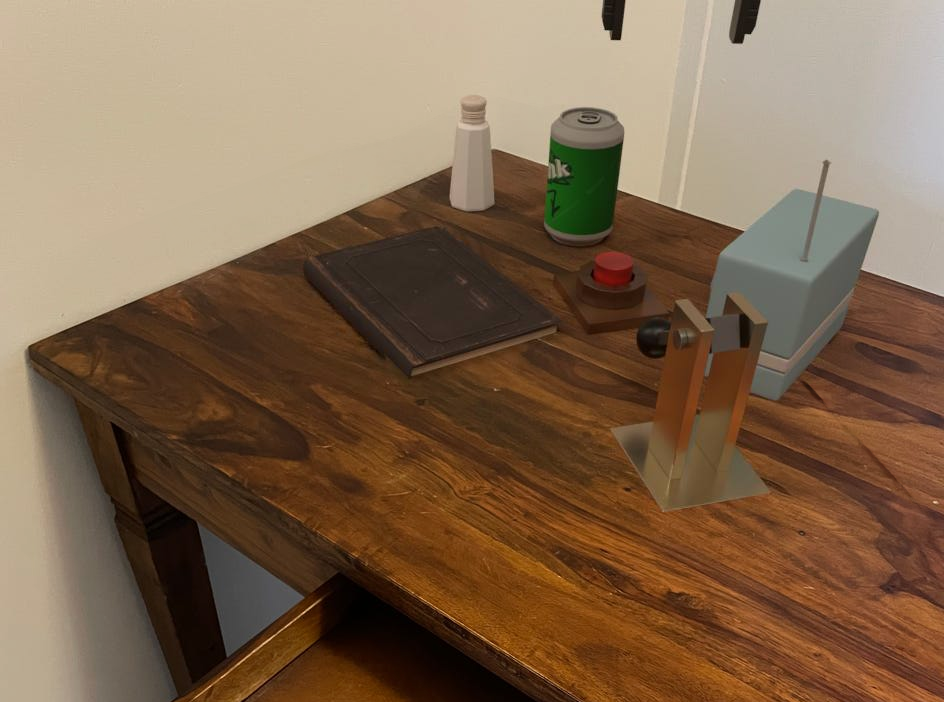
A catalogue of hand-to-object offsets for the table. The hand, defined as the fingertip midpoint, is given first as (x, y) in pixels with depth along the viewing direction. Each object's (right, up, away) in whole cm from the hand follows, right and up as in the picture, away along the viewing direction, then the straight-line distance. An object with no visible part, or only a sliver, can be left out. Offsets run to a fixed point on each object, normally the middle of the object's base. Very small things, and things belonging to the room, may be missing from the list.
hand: (675, 39), depth 67 cm
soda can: (-2, +2, +37) cm, 37 cm away
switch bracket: (+3, -29, +9) cm, 31 cm away
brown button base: (-1, -11, +26) cm, 28 cm away
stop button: (-1, -8, +23) cm, 24 cm away
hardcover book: (-19, -10, +26) cm, 34 cm away
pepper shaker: (-14, +8, +43) cm, 46 cm away
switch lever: (+2, -21, +5) cm, 22 cm away
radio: (+13, -17, +21) cm, 29 cm away
